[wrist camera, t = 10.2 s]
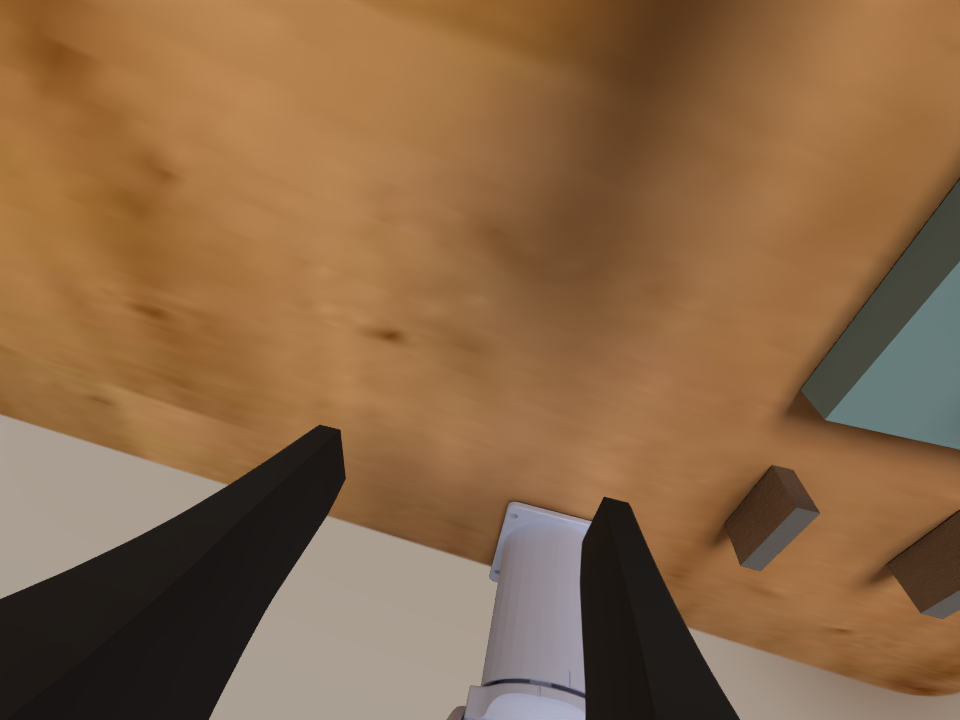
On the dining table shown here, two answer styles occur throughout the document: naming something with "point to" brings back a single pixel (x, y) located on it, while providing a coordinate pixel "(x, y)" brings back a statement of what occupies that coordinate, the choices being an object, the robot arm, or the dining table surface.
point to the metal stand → (789, 510)
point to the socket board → (903, 345)
